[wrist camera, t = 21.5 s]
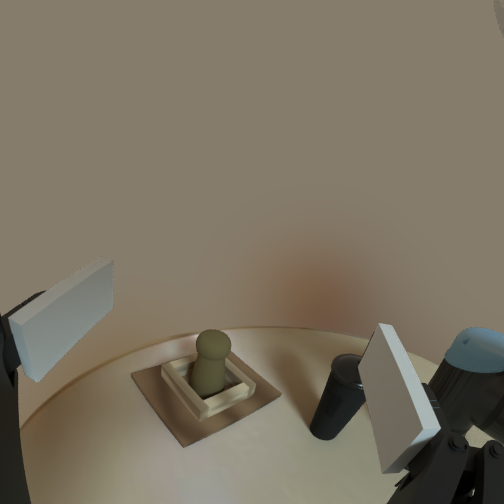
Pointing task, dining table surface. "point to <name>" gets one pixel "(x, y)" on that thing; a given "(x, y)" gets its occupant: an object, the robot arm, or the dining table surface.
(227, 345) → the olive green peg doll
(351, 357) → the drinking cup
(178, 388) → the well board
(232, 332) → the dining table surface
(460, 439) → the robot arm
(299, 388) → the dining table surface
